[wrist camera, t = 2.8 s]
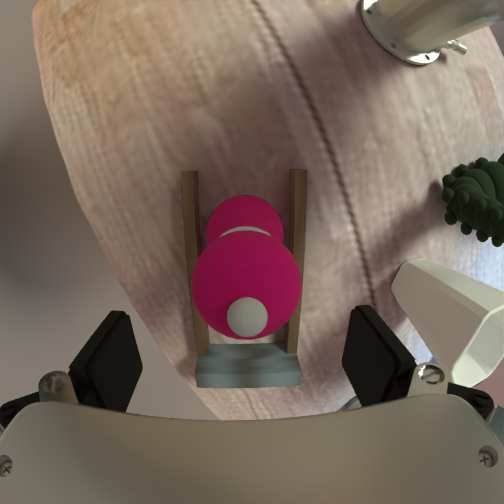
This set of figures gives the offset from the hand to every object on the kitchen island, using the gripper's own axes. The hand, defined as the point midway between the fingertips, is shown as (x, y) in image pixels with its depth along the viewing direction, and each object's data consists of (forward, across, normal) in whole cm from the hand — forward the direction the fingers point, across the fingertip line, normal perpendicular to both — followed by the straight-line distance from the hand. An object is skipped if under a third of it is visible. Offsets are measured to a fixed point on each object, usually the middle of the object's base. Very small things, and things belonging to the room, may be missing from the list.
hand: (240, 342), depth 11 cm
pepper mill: (+21, -1, -1) cm, 21 cm away
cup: (+20, -24, +7) cm, 32 cm away
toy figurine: (+20, -35, -8) cm, 41 cm away
